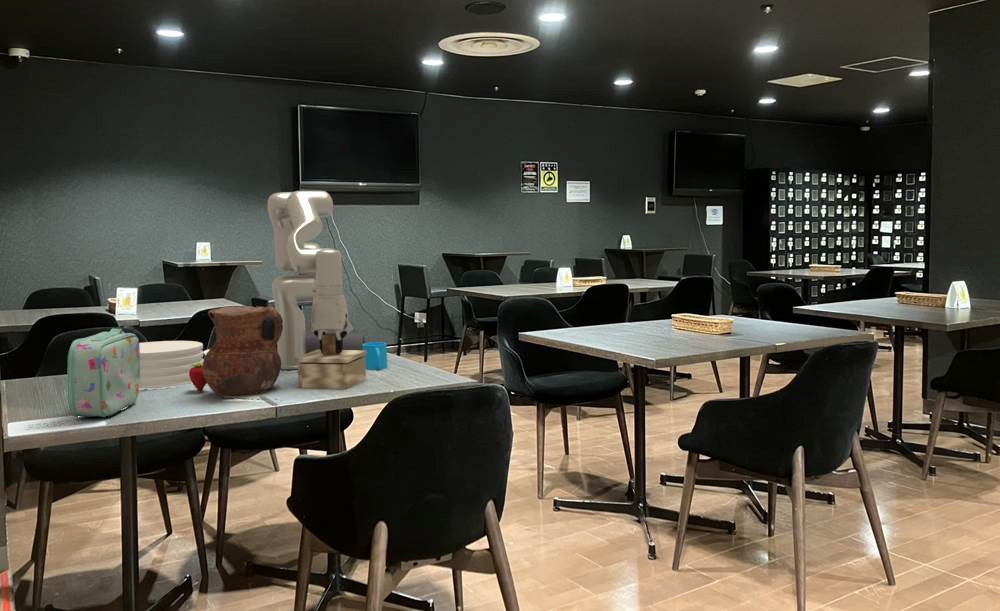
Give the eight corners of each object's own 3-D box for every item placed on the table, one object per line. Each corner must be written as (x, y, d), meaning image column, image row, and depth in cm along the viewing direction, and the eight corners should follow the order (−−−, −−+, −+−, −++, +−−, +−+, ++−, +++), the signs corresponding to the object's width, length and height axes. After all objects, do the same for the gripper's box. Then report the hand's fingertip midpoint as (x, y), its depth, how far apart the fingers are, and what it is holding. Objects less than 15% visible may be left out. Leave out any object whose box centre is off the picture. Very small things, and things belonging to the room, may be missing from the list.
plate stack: (191, 372, 282) (190, 338, 281) (215, 383, 259) (213, 347, 258) (101, 381, 266) (99, 346, 265) (117, 395, 243) (115, 356, 242)
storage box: (298, 391, 243) (297, 363, 242) (320, 381, 257) (319, 356, 257) (347, 392, 240) (346, 364, 239) (366, 382, 254) (365, 356, 253)
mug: (361, 366, 285) (360, 343, 284) (384, 365, 287) (384, 341, 287) (367, 372, 273) (366, 347, 273) (391, 370, 276) (391, 346, 275)
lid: (294, 362, 242) (293, 337, 241) (317, 353, 257) (317, 330, 257) (346, 363, 238) (345, 338, 238) (366, 354, 254) (366, 330, 253)
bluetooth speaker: (298, 364, 293) (297, 336, 292) (302, 360, 302) (301, 333, 302) (363, 362, 295) (362, 334, 294) (365, 358, 304) (364, 331, 303)
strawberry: (209, 388, 250) (207, 355, 249) (213, 392, 243) (211, 358, 242) (188, 390, 247) (186, 357, 246) (191, 394, 241) (189, 360, 240)
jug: (214, 404, 225) (209, 313, 223) (195, 393, 243) (190, 307, 241) (293, 394, 238) (289, 307, 235) (270, 384, 255) (266, 302, 253)
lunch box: (107, 401, 233) (102, 325, 231) (145, 400, 234) (141, 324, 232) (64, 423, 206) (58, 337, 205) (107, 422, 207) (102, 336, 205)
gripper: (297, 292, 244) (299, 354, 246) (351, 292, 241) (353, 355, 242) (308, 290, 251) (310, 350, 253) (360, 290, 248) (362, 351, 250)
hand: (331, 352), depth 248 cm, fingers closed on lid, 4 cm apart
